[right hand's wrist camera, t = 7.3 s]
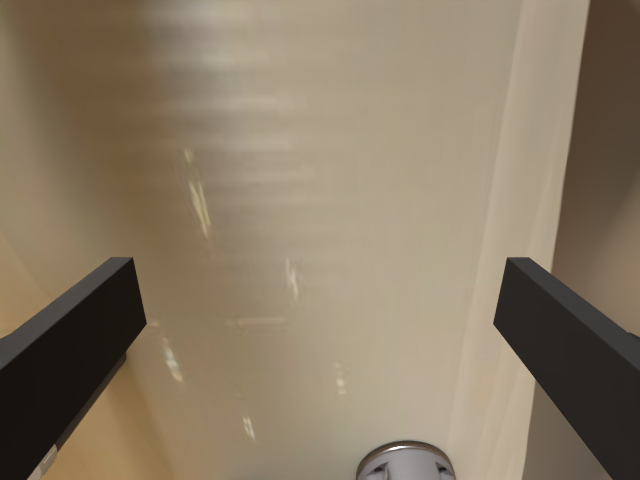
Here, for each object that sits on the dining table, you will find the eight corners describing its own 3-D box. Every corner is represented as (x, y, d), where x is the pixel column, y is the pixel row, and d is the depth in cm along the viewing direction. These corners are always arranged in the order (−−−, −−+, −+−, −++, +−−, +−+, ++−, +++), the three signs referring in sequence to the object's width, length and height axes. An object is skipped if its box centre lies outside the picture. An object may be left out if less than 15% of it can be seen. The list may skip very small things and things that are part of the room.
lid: (69, 453, 36) (53, 476, 34) (32, 471, 37) (14, 493, 35) (31, 420, 34) (12, 442, 32) (-7, 439, 35) (-28, 461, 33)
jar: (133, 358, 49) (53, 470, 34) (107, 372, 49) (18, 487, 35) (110, 334, 47) (16, 440, 33) (83, 348, 48) (-20, 457, 33)
